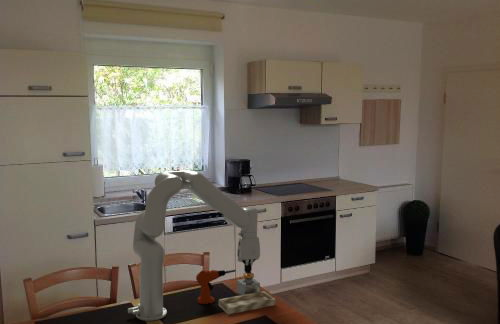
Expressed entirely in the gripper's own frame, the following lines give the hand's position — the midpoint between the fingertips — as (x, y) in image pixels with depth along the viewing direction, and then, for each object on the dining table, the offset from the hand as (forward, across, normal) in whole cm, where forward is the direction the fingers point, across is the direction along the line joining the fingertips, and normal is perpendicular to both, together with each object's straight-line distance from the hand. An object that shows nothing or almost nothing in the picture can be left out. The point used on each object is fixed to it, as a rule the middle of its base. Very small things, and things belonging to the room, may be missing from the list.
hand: (247, 272), depth 214 cm
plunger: (+10, +1, 0) cm, 10 cm away
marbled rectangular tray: (+10, -6, -12) cm, 17 cm away
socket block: (+10, +1, 0) cm, 10 cm away
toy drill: (+11, -16, -1) cm, 20 cm away
